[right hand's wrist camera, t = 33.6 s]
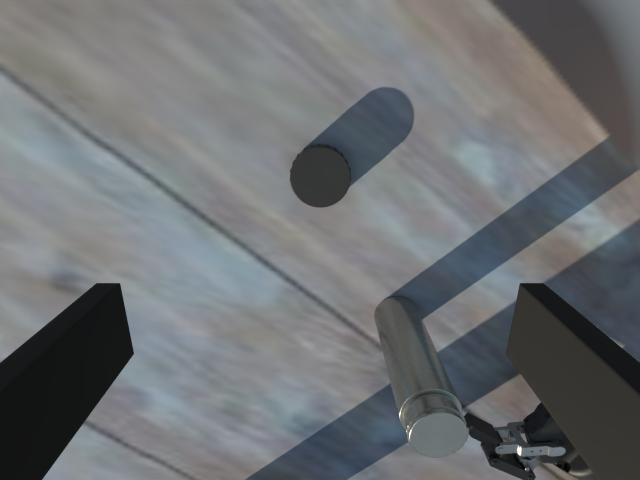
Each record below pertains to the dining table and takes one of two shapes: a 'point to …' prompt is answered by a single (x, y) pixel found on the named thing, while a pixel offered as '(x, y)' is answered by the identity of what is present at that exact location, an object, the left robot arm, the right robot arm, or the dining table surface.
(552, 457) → the left robot arm
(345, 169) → the lid
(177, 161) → the dining table surface
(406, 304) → the thermos
